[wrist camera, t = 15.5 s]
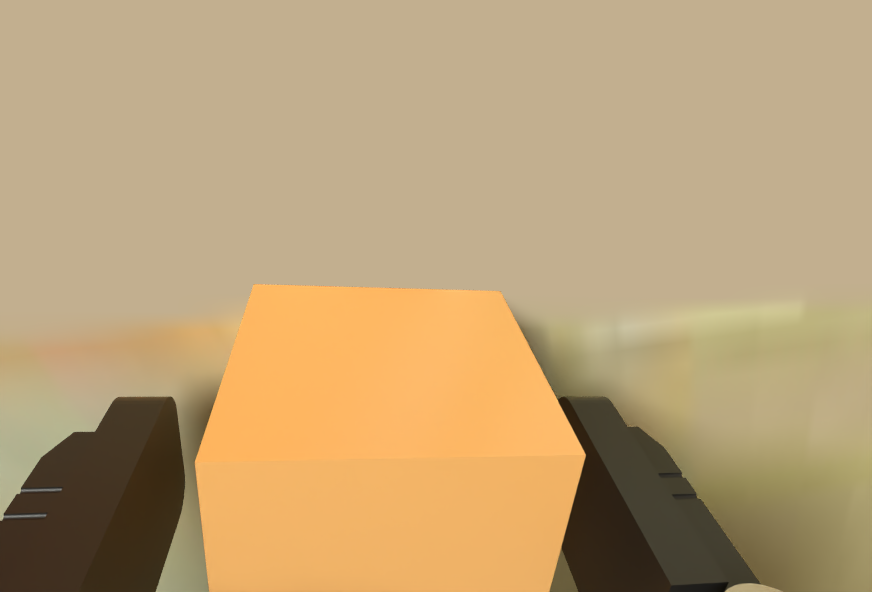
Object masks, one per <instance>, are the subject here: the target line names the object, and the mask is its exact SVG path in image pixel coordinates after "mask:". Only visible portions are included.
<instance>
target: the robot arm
mask: <svg viewBox="0 0 872 592" xmlns="http://www.w3.org/2000/svg"><path fill="white" fill-rule="evenodd" d="M558 402H559V404H560V406H561V408H562V410H563V412H564V414H565V416H566V418H567V420H568V422H569V423H570V425H571V427H572V429H573V431H574V433H575V435H576V437H577V439H578V441H579V443H580V444H581V446H582V448H583V450H584V452H585V454H586V457H585V460H584V464H583V468H582V472H581V475H580V479H579V483H578V486H577V490H576V494H575V498H574V501H573V505H572V509H571V513H570V516H569V520H568V524H567V527H566V531H565V535H564V539H563V542H562V546H561V548H562V550H563V553H564V555H565V558H566V560H567V563H568V566H569V568H570V571H571V573H572V576H573V578H574V581H575V583H576V586H577V589H578V591H579V592H783V591H780V590H778V589H775V588H773V587H769V586H765V585H761V584H760V583H759V581H758V580H757V578H756V577H755V576H754V574H753V573H752V571H751V570H750V569H749V567H748V566H747V564H746V563H745V561H744V560H743V559H742V557H741V556H740V554H739V553H738V552H737V550H736V549H735V547H734V546H733V544H732V543H731V542H730V540H729V539H728V537H727V536H726V535H725V533H724V532H723V530H722V529H721V527H720V526H719V525H718V523H717V522H716V520H715V519H714V518H713V516H712V515H711V513H710V512H709V510H708V509H707V508H706V506H705V505H704V503H703V502H702V501H701V499H697V497H696V494H697V493H696V492H695V491H694V489H693V488H692V486H691V485H690V484H689V482H688V481H687V479H686V478H682V472H681V471H680V469H679V468H678V467H677V465H676V464H675V462H674V461H673V459H672V458H671V457H670V455H669V454H668V452H667V451H666V450H665V448H664V447H663V446H661V445H660V444H659V443H658V442H656V441H655V440H654V439H652V438H651V437H650V436H649V435H647V434H646V433H645V432H644V431H642V430H641V429H640V428H639V427H627V425H626V424H625V422H624V421H623V419H622V418H621V416H620V415H619V413H618V412H617V410H616V409H615V407H614V406H613V404H612V403H611V401H610V400H609V399H608V398H606V397H561V398H560V399H559V400H558ZM184 489H185V474H184V465H183V457H182V449H181V440H180V432H179V424H178V416H177V409H176V404H175V401H174V399H173V398H172V397H118V398H116V399H115V400H114V401H113V402H112V404H111V406H110V407H109V409H108V411H107V412H106V414H105V416H104V418H103V419H102V421H101V423H100V424H99V426H98V428H97V430H96V431H95V432H74V433H72V434H71V435H70V436H69V437H67V438H66V439H65V440H63V441H62V442H61V443H60V444H58V445H57V446H56V447H54V448H53V449H52V450H51V451H49V452H48V453H47V454H45V455H44V456H43V457H41V459H40V460H39V462H38V463H37V465H36V466H35V468H34V469H33V471H32V472H31V474H30V475H29V477H28V478H27V480H26V481H25V483H24V484H23V486H22V487H21V493H20V494H17V495H16V496H15V498H14V499H13V501H12V502H11V504H10V505H9V507H8V508H7V510H6V511H5V513H4V518H3V520H2V521H0V592H156V589H157V586H158V583H159V579H160V576H161V573H162V570H163V567H164V564H165V561H166V558H167V555H168V552H169V549H170V546H171V543H172V539H173V536H174V533H175V530H176V527H177V524H178V521H179V518H180V514H181V510H182V505H183V499H184Z"/></svg>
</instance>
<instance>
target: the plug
mask: <svg viewBox="0 0 872 592" xmlns="http://www.w3.org/2000/svg"><path fill="white" fill-rule="evenodd" d="M585 457H586V454H585V452H584V450H583V448H582V446H581V444H580V443H579V441H578V439H577V437H576V435H575V433H574V431H573V429H572V427H571V425H570V423H569V422H568V420H567V418H566V416H565V414H564V412H563V410H562V408H561V406H560V404H559V402H558V400H557V399H556V397H555V395H554V393H553V391H552V389H551V387H550V385H549V383H548V381H547V379H546V377H545V376H544V374H543V372H542V370H541V368H540V366H539V364H538V362H537V360H536V358H535V356H534V354H533V353H532V351H531V349H530V347H529V345H528V343H527V341H526V339H525V337H524V335H523V333H522V332H521V330H520V328H519V326H518V324H517V322H516V320H515V318H514V316H513V314H512V312H511V310H510V309H509V307H508V305H507V303H506V301H505V299H504V297H503V295H502V293H501V292H500V291H476V290H440V289H405V288H369V287H332V286H296V285H295V286H294V285H262V284H254V285H253V289H252V291H251V294H250V297H249V300H248V303H247V306H246V309H245V312H244V315H243V318H242V321H241V325H240V328H239V331H238V334H237V337H236V340H235V343H234V346H233V349H232V352H231V355H230V358H229V361H228V364H227V367H226V370H225V373H224V376H223V379H222V382H221V385H220V388H219V391H218V394H217V397H216V400H215V403H214V406H213V409H212V412H211V415H210V418H209V421H208V424H207V427H206V430H205V433H204V436H203V439H202V442H201V445H200V448H199V451H198V454H197V457H196V460H195V469H196V478H197V487H198V496H199V505H200V514H201V523H202V532H203V541H204V549H205V558H206V567H207V576H208V585H209V592H549V591H550V587H551V583H552V580H553V576H554V572H555V569H556V565H557V561H558V557H559V554H560V550H561V546H562V542H563V539H564V535H565V531H566V527H567V524H568V520H569V516H570V513H571V509H572V505H573V501H574V498H575V494H576V490H577V486H578V483H579V479H580V475H581V472H582V468H583V464H584V460H585Z"/></svg>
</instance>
